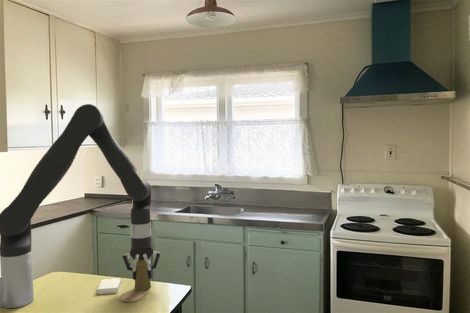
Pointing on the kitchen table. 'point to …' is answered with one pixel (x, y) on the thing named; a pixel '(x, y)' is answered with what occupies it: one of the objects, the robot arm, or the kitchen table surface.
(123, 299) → the disc
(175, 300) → the kitchen table surface
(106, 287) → the tile
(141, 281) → the pepper shaker
